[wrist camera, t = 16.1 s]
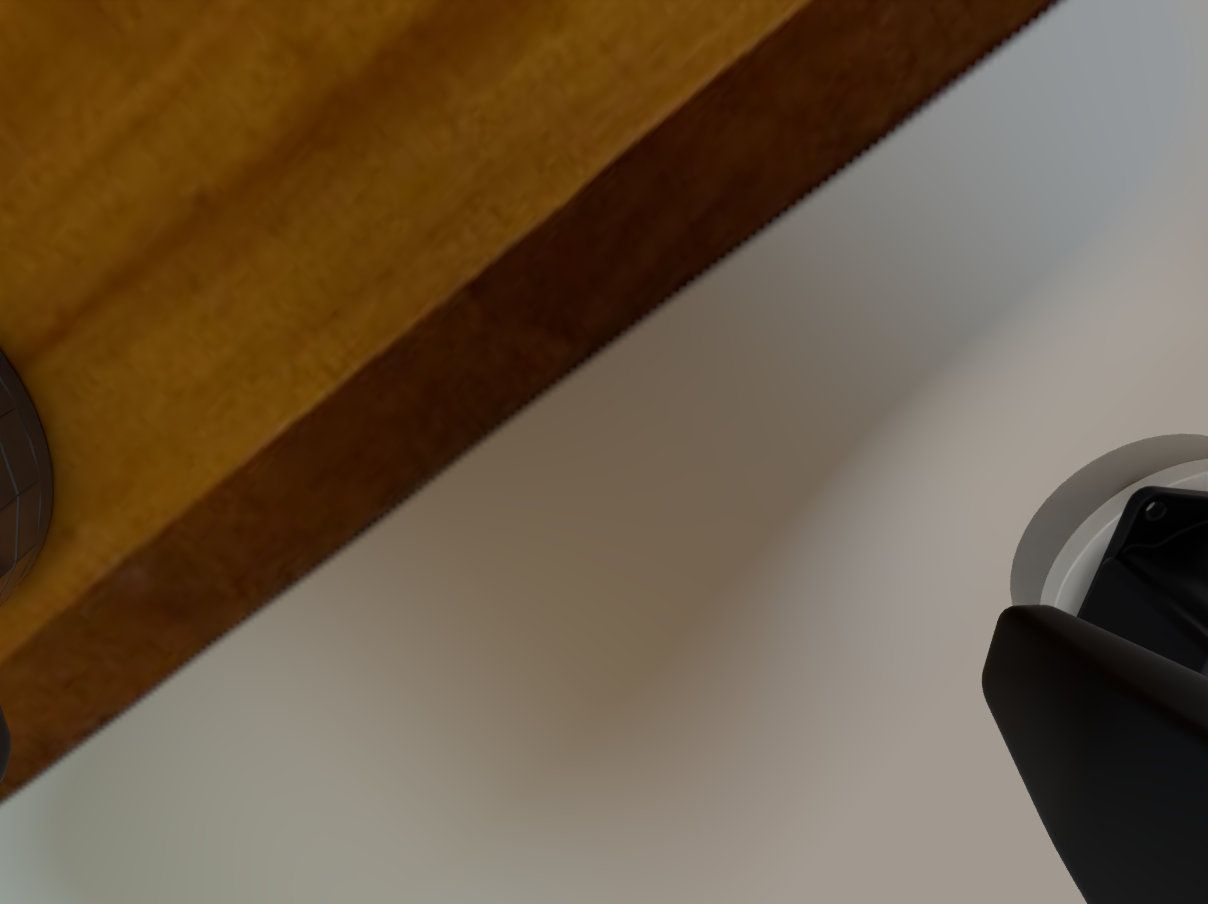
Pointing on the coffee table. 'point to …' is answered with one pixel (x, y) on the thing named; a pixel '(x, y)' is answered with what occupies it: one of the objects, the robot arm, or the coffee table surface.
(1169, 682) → the robot arm
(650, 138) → the coffee table surface
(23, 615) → the coffee table surface
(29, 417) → the round grey tray
